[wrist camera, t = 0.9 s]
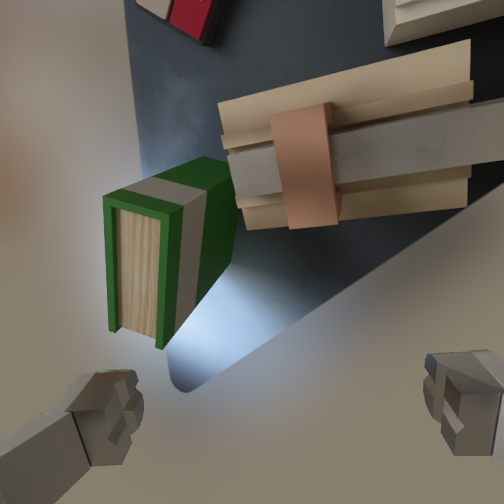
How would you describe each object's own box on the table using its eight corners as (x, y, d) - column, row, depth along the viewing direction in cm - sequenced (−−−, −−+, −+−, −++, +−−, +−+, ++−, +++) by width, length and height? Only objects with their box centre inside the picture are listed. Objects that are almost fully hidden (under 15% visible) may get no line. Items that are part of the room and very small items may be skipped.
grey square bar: (240, 148, 26) (225, 154, 23) (670, 62, 17) (728, 56, 15) (249, 189, 27) (236, 200, 24) (656, 126, 19) (708, 132, 16)
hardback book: (230, 262, 61) (162, 350, 41) (193, 251, 63) (108, 330, 42) (245, 166, 53) (169, 214, 32) (202, 156, 54) (102, 195, 34)
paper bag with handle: (287, 98, 47) (183, 105, 20) (412, 67, 42) (505, 21, 15) (298, 169, 51) (223, 257, 24) (415, 150, 45) (493, 236, 18)
